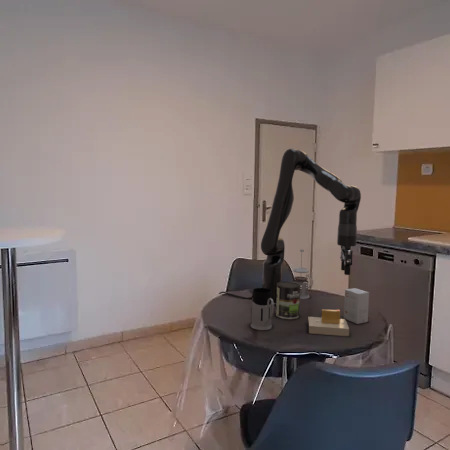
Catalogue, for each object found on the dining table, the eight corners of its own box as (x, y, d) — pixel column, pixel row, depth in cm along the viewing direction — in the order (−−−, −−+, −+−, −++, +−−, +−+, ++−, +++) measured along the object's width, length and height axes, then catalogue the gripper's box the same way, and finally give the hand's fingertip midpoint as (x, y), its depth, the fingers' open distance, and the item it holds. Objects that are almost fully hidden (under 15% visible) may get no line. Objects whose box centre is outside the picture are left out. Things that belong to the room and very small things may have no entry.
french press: (298, 292, 206) (299, 247, 204) (316, 297, 198) (318, 249, 195) (286, 295, 200) (288, 248, 197) (305, 300, 191) (307, 251, 189)
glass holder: (266, 321, 161) (267, 286, 159) (282, 333, 147) (283, 295, 146) (247, 323, 158) (247, 288, 156) (262, 336, 144) (263, 297, 143)
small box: (368, 322, 161) (369, 292, 160) (357, 324, 159) (358, 293, 157) (354, 316, 169) (355, 287, 167) (343, 318, 166) (344, 289, 165)
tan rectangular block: (321, 322, 151) (322, 309, 151) (321, 321, 153) (321, 308, 153) (339, 323, 150) (340, 311, 150) (339, 322, 152) (339, 309, 152)
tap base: (309, 333, 148) (309, 325, 148) (307, 323, 159) (308, 316, 159) (349, 336, 145) (349, 328, 145) (345, 326, 156) (345, 318, 156)
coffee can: (304, 317, 166) (305, 285, 165) (285, 320, 162) (286, 288, 160) (289, 310, 176) (290, 280, 174) (271, 313, 171) (272, 282, 169)
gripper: (335, 231, 165) (333, 268, 166) (340, 235, 151) (338, 275, 152) (353, 232, 164) (351, 269, 165) (359, 236, 150) (358, 276, 151)
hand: (345, 272), depth 159 cm, fingers open, 8 cm apart
